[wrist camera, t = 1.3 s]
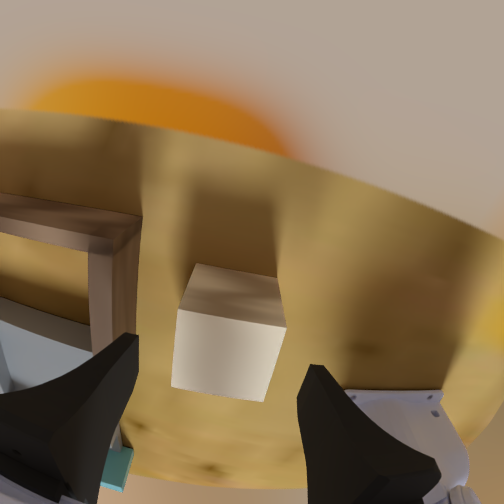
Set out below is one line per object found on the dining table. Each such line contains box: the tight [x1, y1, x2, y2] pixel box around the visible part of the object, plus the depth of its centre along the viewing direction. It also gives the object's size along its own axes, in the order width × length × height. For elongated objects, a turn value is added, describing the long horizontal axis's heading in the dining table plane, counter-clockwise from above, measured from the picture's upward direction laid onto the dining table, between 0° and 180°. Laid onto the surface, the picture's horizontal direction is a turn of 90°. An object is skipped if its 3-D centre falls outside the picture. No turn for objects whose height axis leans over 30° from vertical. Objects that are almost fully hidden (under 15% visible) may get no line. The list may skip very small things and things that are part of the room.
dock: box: [0, 193, 143, 356], centre depth 15 cm, size 14×10×4 cm
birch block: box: [171, 263, 287, 402], centre depth 16 cm, size 4×4×5 cm
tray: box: [0, 297, 134, 492], centre depth 18 cm, size 13×14×4 cm
